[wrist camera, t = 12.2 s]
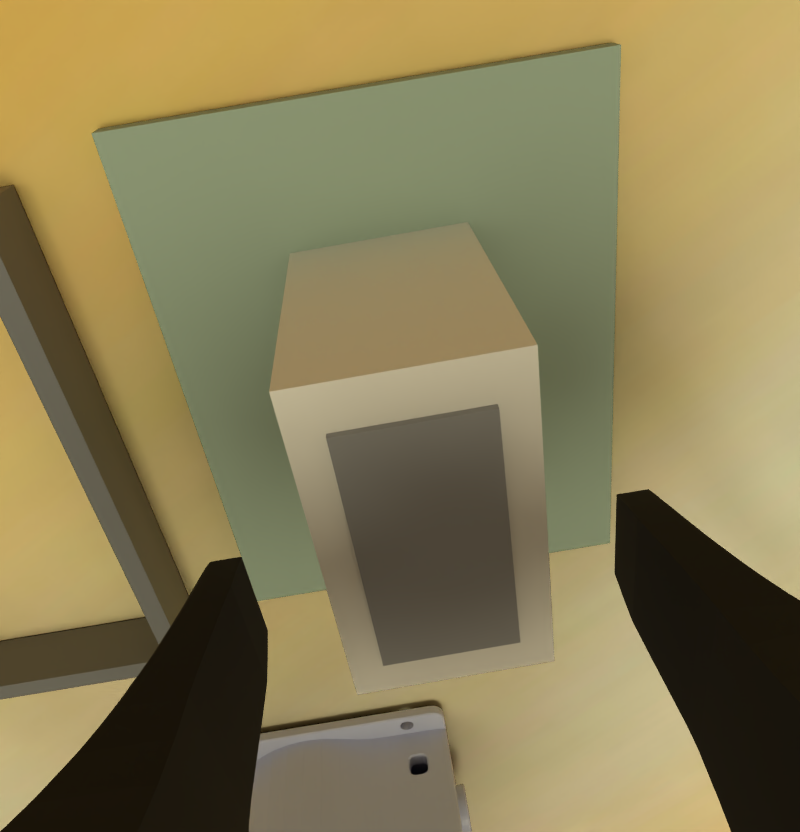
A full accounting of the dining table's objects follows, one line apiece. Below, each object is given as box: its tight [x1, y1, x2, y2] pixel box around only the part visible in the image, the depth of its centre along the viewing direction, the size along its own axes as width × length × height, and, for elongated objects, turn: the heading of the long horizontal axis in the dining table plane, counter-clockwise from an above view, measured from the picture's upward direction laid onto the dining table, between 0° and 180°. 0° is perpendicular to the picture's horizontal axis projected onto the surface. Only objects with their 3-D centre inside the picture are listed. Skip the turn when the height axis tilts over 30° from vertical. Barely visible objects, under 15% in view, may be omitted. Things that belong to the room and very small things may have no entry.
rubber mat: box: [92, 43, 621, 601], centre depth 20 cm, size 12×15×1 cm
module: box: [269, 222, 554, 695], centre depth 17 cm, size 4×8×7 cm, turn 9°
